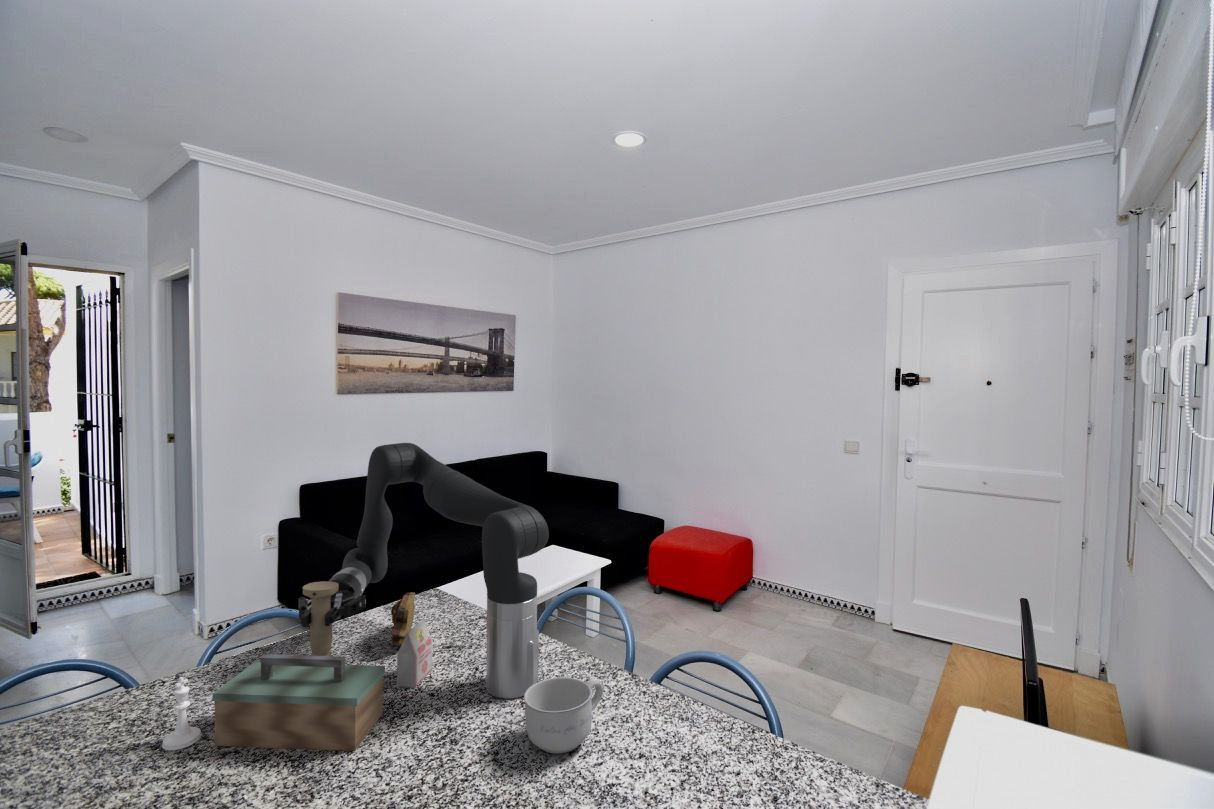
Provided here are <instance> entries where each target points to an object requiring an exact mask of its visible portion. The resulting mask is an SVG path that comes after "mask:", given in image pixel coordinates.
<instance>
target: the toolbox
mask: <svg viewBox="0 0 1214 809" xmlns="http://www.w3.org/2000/svg"><path fill="white" fill-rule="evenodd" d="M385 674H386V665H367V664H365V665H364V664H346V656H340V655H339V656H335V655H331V656H312V655H303V654H301V655H300V654H276V653H275V654H270V653H269V654H267V653H265V654H264V655H263V656H261V657H260V661H253V663H252V664H250V665H249V666H248V667H246V668H244V669H243V671H241V672H240V673H238V674H237V675H235V676H234V677H232V678H231V679H230V680H229V681H227V682H226V683H225V684H223V685H222V686H221V687H219V688H218V689H217V690H215V691H214V692H212V702H214V746H216V747H242V748H266V749H267V748H269V749H296V750H297V749H298V750H320V751H322V750H323V751H324V750H326V751H348V752H349V751H351V752H356V751H357V749H358V748H359V746H360V745H361V744H362V743H363V741H364V739H365V738H366V737H367V735H368V734H369V733H370V732H371V730H372V729H373V727H375V725H376V724H377V722H378V721H379V719H380V718H381V717H382V715H383V714H384V675H385Z"/></svg>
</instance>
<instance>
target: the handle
mask: <svg viewBox="0 0 1214 809" xmlns="http://www.w3.org/2000/svg"><path fill="white" fill-rule="evenodd" d="M338 589H339V584H338V583H336V582H328V581H325V580H324V581H323V580H322V581H314V582H309V583H307V584H305V585H303V586H302V595H304V597H308V598H310V600H311V623H310V624H309V625H310V626H309V644H310V645H309V646H310V652H311V656H332V651H331V649H332V645H333V623H332V624H331V625H330V626H325V615H326V614H327V613H328V612H329V611H330V609H331V605H330V598H331V596H332V595H333V594H335V593H336V592H337V591H338Z"/></svg>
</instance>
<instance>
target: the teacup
mask: <svg viewBox="0 0 1214 809" xmlns="http://www.w3.org/2000/svg"><path fill="white" fill-rule="evenodd" d="M594 687H595V692H594V694H593V690H592V689H593V688H594ZM603 694H604V686H603V684H602V683H601V681H599V680H598V679H595V678H593V679H589V680H588V681H586V682H585V681H583V680H580V679H578V678H575V677H574V678H573V677H568V676H567V677H566V676H565V677H562V676H560V677H552V678H546V679H542V680H540V681H537V683H535V684H534V685H532V686H531V687H529V688H528V689H527V691H526V692H525V694H524V696H523V701H524V711H525V714H524V715H525V728H526V732H527V735H528V738H529V740H530V741H531V743H532V744H533V745H535V746H536V747H538V748H539V749H540V750H542V751H544V752H546V753H550V754H555V755H556V754H564V753H567V752H572V751H573V750H575V749H576V748H578V746H580V744H582V743H583V742H584V741H585V740H586V739H587V737H588V736H589V734H590V732H591V728H592V722H593V720H592V718H593V715H592V714H593V713H592V712H593V710H595V709H596V708H597V706H598V704H600V702H601V700H602V698H603ZM592 696H593V697H592Z"/></svg>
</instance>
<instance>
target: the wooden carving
mask: <svg viewBox="0 0 1214 809" xmlns="http://www.w3.org/2000/svg"><path fill="white" fill-rule="evenodd" d="M415 598H416V593H415V592H406V593H405V594H404V595H403V596H402V598H401V599H400V600H397V602H396V603H395V604H393V605H392V607H391V610H390V613H391V614H390V615H391V620H392V624H393V626H392V628H391V631H390V635H391V640H390V644H391V645H393V646H394V645H395V646H402V644H403V641H404V639H405V635H406V633H407V632H409V631H410V630H411V629H412V628H413V623H414V616H415V609H416V605H415Z"/></svg>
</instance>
